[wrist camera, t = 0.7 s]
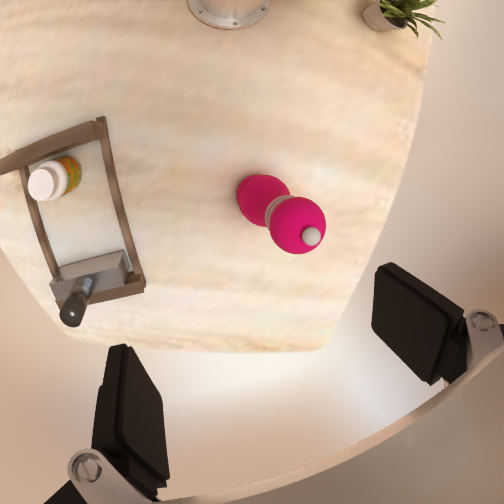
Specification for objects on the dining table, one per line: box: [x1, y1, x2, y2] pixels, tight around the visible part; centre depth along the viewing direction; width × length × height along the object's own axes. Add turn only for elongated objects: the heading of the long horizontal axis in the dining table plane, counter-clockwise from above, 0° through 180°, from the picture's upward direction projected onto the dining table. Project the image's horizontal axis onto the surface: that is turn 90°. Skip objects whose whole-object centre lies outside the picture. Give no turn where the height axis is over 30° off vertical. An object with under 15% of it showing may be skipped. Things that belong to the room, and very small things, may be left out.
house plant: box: [363, 0, 444, 40], centre depth 27 cm, size 14×14×16 cm
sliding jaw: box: [49, 250, 130, 327], centre depth 34 cm, size 3×12×14 cm, turn 98°
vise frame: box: [0, 116, 146, 310], centre depth 34 cm, size 27×16×8 cm, turn 8°
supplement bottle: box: [28, 156, 82, 201], centre depth 30 cm, size 5×5×10 cm
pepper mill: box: [237, 175, 326, 254], centre depth 35 cm, size 7×7×20 cm
